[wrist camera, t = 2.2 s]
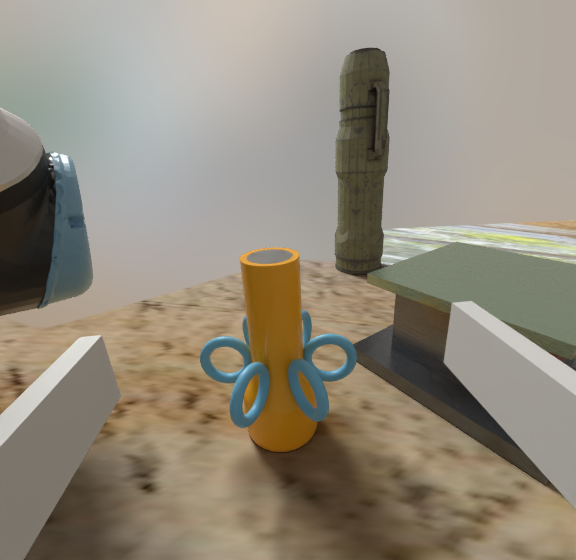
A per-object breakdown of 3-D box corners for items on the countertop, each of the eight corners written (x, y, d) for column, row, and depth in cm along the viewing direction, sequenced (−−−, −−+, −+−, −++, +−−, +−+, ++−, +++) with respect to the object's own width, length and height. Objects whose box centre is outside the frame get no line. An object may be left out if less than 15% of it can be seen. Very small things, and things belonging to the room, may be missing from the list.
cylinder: (380, 444, 24) (395, 262, 19) (261, 525, 19) (232, 312, 14) (295, 364, 34) (288, 228, 28) (202, 404, 29) (171, 250, 24)
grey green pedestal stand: (350, 357, 35) (352, 273, 31) (442, 308, 44) (453, 239, 40) (546, 485, 21) (593, 361, 17) (621, 374, 30) (663, 277, 26)
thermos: (358, 254, 68) (364, 64, 55) (396, 271, 58) (415, 42, 45) (322, 262, 65) (320, 61, 52) (356, 280, 55) (364, 37, 42)
